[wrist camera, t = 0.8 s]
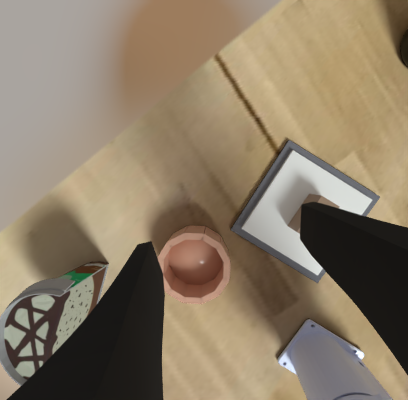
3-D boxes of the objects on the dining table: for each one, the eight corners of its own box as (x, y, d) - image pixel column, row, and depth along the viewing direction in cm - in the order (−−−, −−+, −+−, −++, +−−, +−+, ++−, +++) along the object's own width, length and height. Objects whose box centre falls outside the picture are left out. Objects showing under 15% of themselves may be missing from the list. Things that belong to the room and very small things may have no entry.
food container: (71, 241, 30) (1, 272, 20) (111, 253, 30) (61, 291, 20) (53, 316, 32) (-21, 380, 22) (91, 329, 32) (35, 398, 22)
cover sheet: (369, 199, 27) (394, 202, 23) (315, 273, 29) (331, 288, 25) (291, 150, 27) (304, 146, 23) (241, 227, 28) (245, 235, 25)
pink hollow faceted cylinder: (240, 247, 29) (244, 258, 25) (206, 298, 30) (205, 316, 26) (185, 213, 29) (180, 219, 25) (153, 266, 30) (143, 279, 26)
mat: (377, 196, 28) (380, 197, 27) (315, 281, 29) (317, 283, 29) (287, 140, 27) (289, 140, 27) (230, 229, 29) (231, 230, 28)
